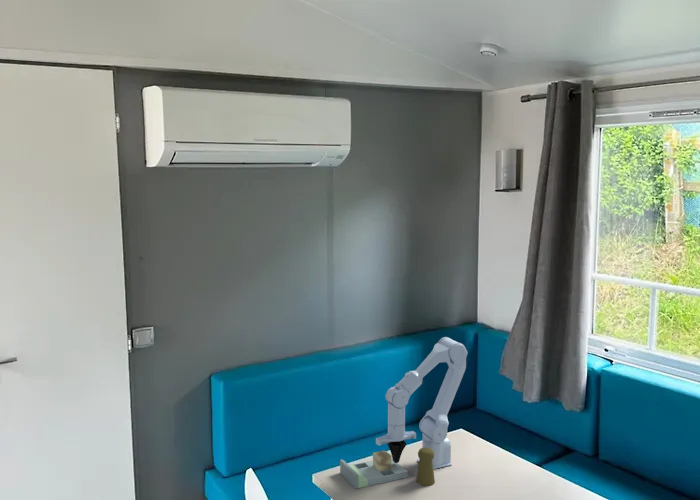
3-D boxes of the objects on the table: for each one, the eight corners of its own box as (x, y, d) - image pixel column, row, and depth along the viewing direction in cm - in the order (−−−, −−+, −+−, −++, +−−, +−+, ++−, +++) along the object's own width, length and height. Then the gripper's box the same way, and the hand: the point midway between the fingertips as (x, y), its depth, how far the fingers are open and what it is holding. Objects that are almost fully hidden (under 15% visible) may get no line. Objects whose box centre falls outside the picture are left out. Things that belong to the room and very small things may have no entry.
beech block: (384, 463, 210) (385, 450, 209) (391, 469, 206) (391, 455, 205) (372, 465, 208) (372, 452, 208) (379, 471, 204) (379, 458, 203)
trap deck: (389, 462, 215) (390, 449, 215) (407, 477, 204) (407, 464, 204) (340, 472, 207) (340, 460, 207) (355, 488, 196) (355, 475, 196)
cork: (434, 486, 198) (434, 454, 197) (415, 484, 199) (415, 452, 198) (435, 478, 204) (436, 446, 203) (417, 476, 205) (417, 444, 204)
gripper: (409, 415, 214) (408, 453, 216) (371, 422, 208) (371, 460, 210) (419, 422, 208) (419, 461, 209) (381, 429, 202) (381, 469, 203)
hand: (395, 461), depth 209 cm, fingers closed
